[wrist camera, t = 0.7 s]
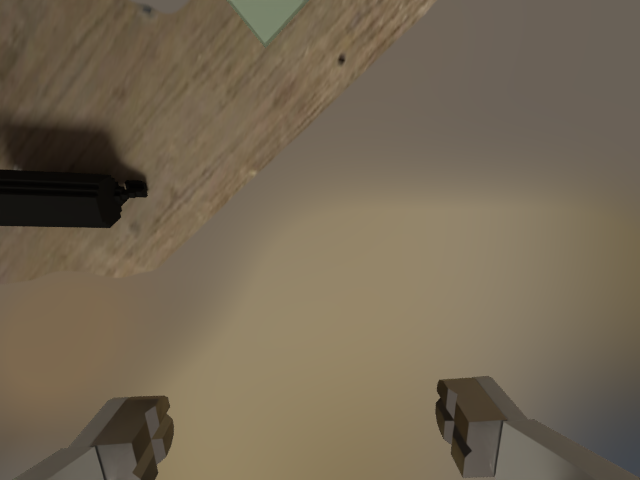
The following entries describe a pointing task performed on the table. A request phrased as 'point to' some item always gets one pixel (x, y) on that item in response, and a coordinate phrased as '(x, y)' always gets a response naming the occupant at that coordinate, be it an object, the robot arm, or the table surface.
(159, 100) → the table surface
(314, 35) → the table surface
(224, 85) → the table surface
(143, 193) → the security camera
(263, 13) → the block
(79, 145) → the table surface
